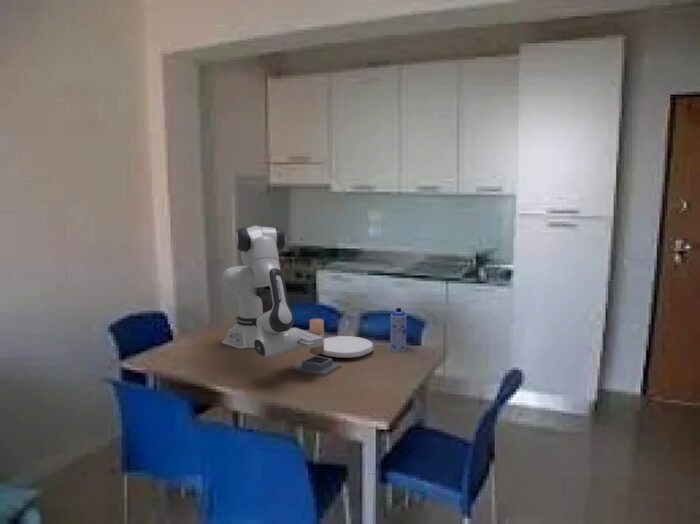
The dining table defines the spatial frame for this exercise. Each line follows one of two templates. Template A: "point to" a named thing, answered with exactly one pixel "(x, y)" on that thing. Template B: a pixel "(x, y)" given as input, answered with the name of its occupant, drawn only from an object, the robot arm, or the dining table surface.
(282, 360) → the dining table surface
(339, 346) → the plate
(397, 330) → the aerosol can
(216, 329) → the dining table surface
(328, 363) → the grey square tray
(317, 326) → the salmon pink cylinder
